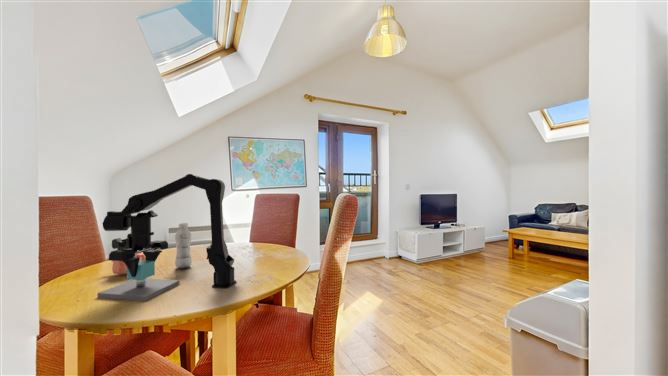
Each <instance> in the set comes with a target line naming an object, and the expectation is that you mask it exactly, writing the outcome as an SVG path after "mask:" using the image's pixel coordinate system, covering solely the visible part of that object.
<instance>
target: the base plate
mask: <svg viewBox="0 0 668 376" xmlns="http://www.w3.org/2000/svg"><path fill="white" fill-rule="evenodd" d="M178 285H180V280H178V279H164V278H162V279H161V278H151V277H148V278H146V286H144V287H141V288H137V287H136V280H133V279H129V280H128V281H124V282H123V283H120V284H117V285H114V286H113V287H109V288H107V289H105V290H102V291H100V292H97V298H99V299H112V300H122V301H123V300H126V301H136V302H139V301H140V302H147V301H149V300H151V299H153V298H154V297H157V296H158V295H161V294H163V293H164V292H167V291H168V290H169V291H170V289H172V288H175V287H176V286H178Z"/></svg>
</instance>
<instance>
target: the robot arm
mask: <svg viewBox="0 0 668 376" xmlns="http://www.w3.org/2000/svg"><path fill="white" fill-rule="evenodd" d="M189 187H196V188H199V189H200V190H201V189H202V190H204V191H205V194H206V197H207V200H208V203H209V209H210V211H209V212H210V231H211V233H210V234H211V244H210V245H208V246H207V247H206V248H205V249H206V250H205V251H206V255H207V256H206V260H208V263H209V265H211V266H212V267H213V269H214V272H213V284H212V285H211V288H224V289H228V288H230V287H231V286H233V285H234V284H236V283H237V280H236V279H235V267H234V266H233V265H234V263H235V258H234V257H232V256H231V255H230V253H229V251H228V246H227V243H226V240H225V237H224V234H225V233H224V217H223V216H224V214H223V213H224V211H223V201H224V197H225V189H226V184H225V183H224V181H222V180H221V179H216V178H215V179H214V178H211V179H209V178H205V177H202V176H199V175H197V174H194V173H188V174H186V175H185V176H182V177H181V178H179V179H176V180H174V181H172V182H170V183H168V184H165V185H163V186H161V187H159V188H157V189H154V190H151V191H146V192H142V193H138V194H135V195H132V196H130V197H129V198H128V201H127V204H126V206H124V208H123V209H122V210H121V211H116V210H115V211H113V210H112V211H111V210H110V211H107V212H106V215H105V216H104V219H103V221H102V228H103V230H104V231H105V232H120V231H121V232H122V231H124V232H125V231H128V230H129V229H130V233H127V236H126V238H124V239H121V238H122V237H121V238H120V237H118V238H114V239H112V240H111V247H112V249H113V250H112V251H110V252H109V253H108V261H111V260H113V261H123V262H124V263H125V264H126V266H127V268H128V270H129V272H130V274H131V276H132V277H135V276H136V273H137V269H138V264H139V259H140V257H136V254H137V253H141V252H143V254H144V255H145V257H146V261H155V262H156V261H157V259H158V258H159V256H160V254H161V253H162V252H163V250H166V249H169V243H168V241H167V240H153V241H152V236H154V235H155V231H152V218H156V217H158V214H157V213H156V212H154V210H151V209H152V208H154V206H156V205H158V204H159V203H160V202H161V201H162V200H164V199H166V198H168V197H170V196H173V195H174V194H176V193H179V192H181V191H183V190H185V189H187V188H189ZM142 211H143V212H142ZM144 211H147V212H144ZM134 214H136V215H134ZM115 249H116V250H115Z"/></svg>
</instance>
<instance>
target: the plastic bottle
mask: <svg viewBox="0 0 668 376" xmlns="http://www.w3.org/2000/svg"><path fill="white" fill-rule="evenodd" d="M177 228H178V230H177V231H176V233H175V235H174V238H175V246H176V247H175V248H176V255H175V260H174V261H175V267H176V269H186V268H190V267H191V266H192V256H191V241H192V233H191V231H190V230H189V229H188V228H189V223H185V222H184V223H178V227H177Z"/></svg>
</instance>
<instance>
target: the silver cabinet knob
mask: <svg viewBox="0 0 668 376" xmlns="http://www.w3.org/2000/svg"><path fill="white" fill-rule="evenodd" d="M144 286H146V278H145V279H142V280H136V287H137V288H141V287H144Z"/></svg>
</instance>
